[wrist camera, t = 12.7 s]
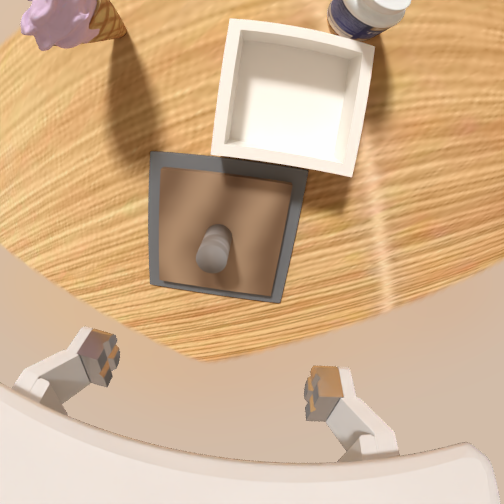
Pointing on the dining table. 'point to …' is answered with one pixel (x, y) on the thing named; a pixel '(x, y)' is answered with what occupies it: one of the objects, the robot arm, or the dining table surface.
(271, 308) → the dining table surface
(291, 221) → the mat
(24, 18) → the ice cream cone
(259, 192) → the lid
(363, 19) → the pill bottle
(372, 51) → the dish
